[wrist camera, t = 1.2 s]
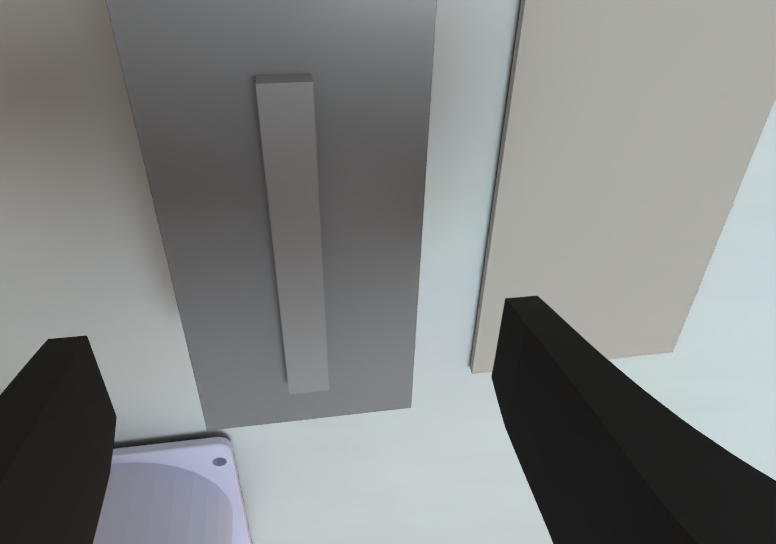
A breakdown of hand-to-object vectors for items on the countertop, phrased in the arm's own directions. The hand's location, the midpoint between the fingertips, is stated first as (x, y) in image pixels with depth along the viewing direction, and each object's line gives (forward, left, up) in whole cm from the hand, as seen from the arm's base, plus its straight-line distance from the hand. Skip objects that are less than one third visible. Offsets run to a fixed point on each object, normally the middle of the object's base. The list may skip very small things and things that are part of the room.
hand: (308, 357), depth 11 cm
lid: (0, 0, -5) cm, 5 cm away
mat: (-2, -10, -8) cm, 13 cm away
